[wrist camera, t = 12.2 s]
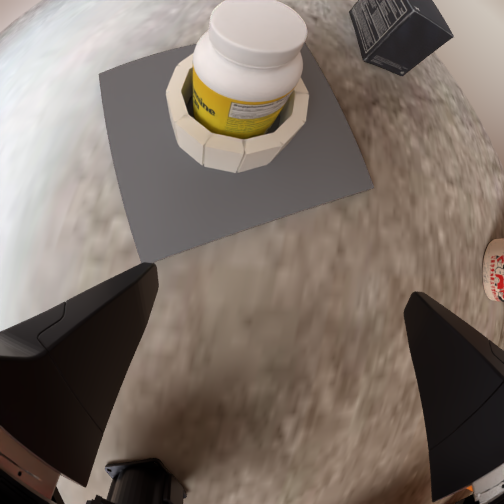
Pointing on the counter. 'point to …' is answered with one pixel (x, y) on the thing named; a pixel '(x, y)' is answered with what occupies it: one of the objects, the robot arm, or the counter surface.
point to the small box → (398, 32)
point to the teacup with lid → (494, 270)
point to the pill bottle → (246, 66)
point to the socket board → (208, 193)
